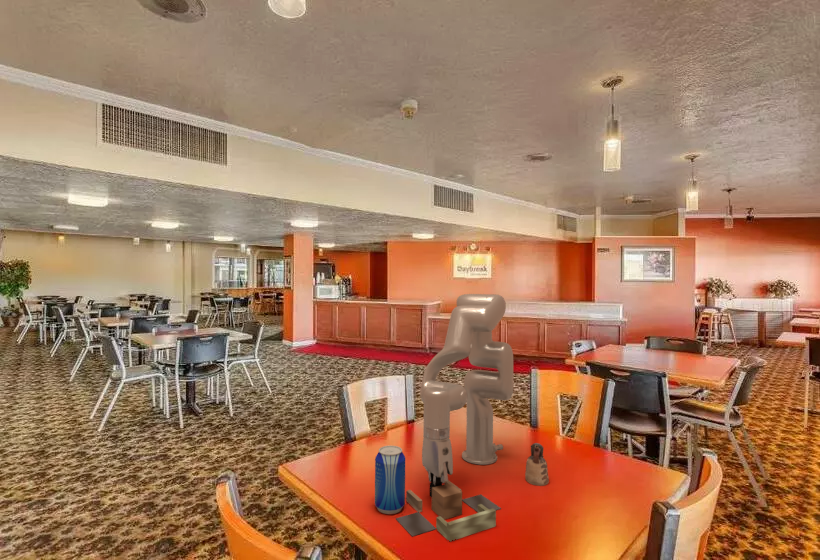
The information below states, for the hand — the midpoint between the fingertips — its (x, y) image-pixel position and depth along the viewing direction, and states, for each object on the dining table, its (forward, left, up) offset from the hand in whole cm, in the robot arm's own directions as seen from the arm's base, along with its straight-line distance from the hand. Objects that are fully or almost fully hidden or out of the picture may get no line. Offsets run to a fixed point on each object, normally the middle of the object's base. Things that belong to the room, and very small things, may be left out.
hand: (435, 496), depth 120 cm
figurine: (-36, +3, -2) cm, 36 cm away
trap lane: (0, +7, -2) cm, 7 cm away
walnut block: (0, +6, -2) cm, 6 cm away
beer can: (+13, -4, -2) cm, 14 cm away
